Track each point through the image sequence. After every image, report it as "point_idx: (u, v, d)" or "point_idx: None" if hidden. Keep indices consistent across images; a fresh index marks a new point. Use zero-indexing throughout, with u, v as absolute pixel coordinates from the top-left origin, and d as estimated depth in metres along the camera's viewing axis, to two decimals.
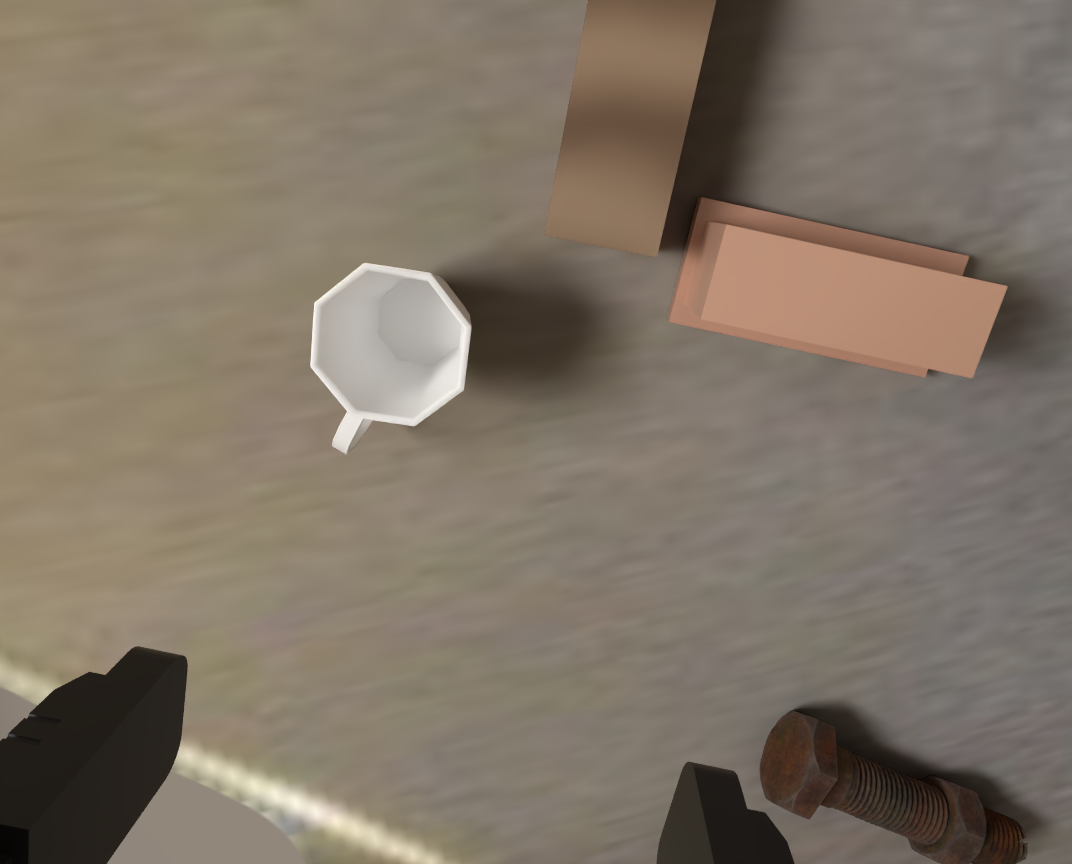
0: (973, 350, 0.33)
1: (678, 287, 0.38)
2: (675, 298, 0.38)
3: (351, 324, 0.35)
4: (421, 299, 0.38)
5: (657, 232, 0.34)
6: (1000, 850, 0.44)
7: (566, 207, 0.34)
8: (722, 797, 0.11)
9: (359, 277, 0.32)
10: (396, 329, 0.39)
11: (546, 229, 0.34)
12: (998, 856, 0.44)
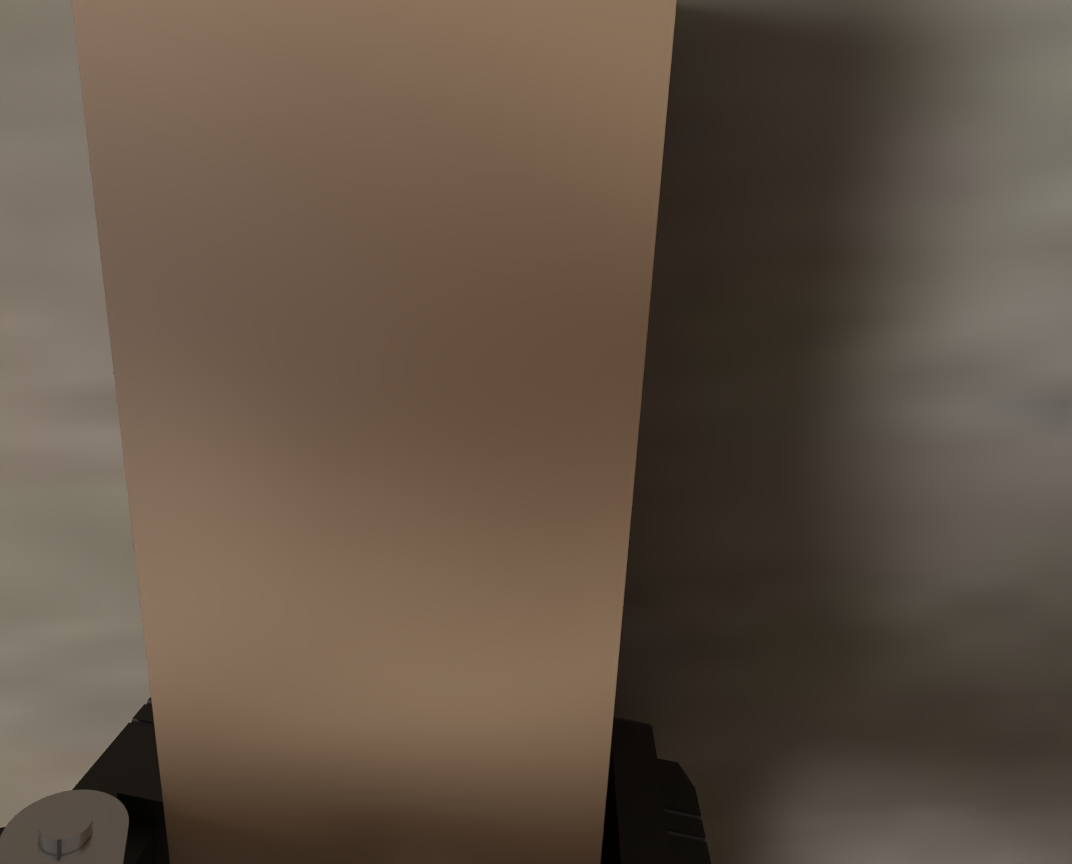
0: None
1: None
2: None
3: None
4: None
5: None
6: None
7: None
8: (634, 746, 0.12)
9: None
10: None
11: None
12: None
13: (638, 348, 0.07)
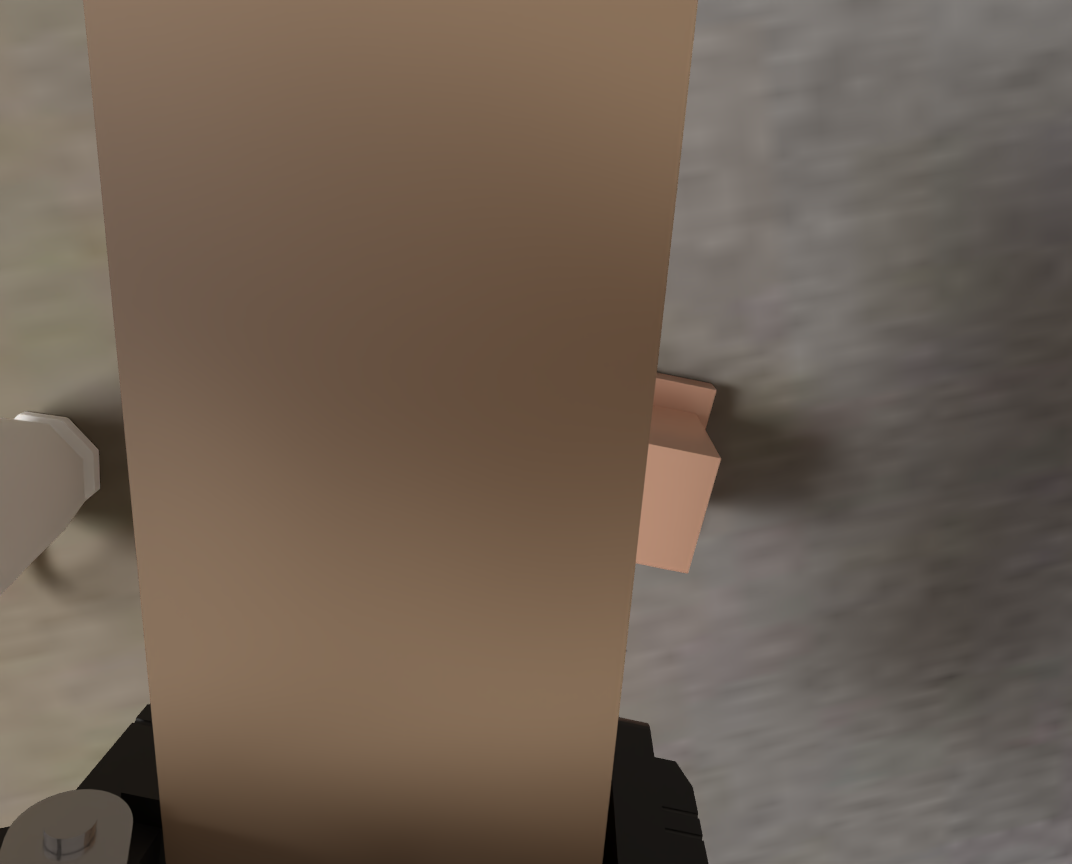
0: (684, 539, 0.25)
1: None
2: None
3: None
4: None
5: None
6: None
7: None
8: (631, 745, 0.12)
9: None
10: None
11: None
12: None
13: (650, 357, 0.07)
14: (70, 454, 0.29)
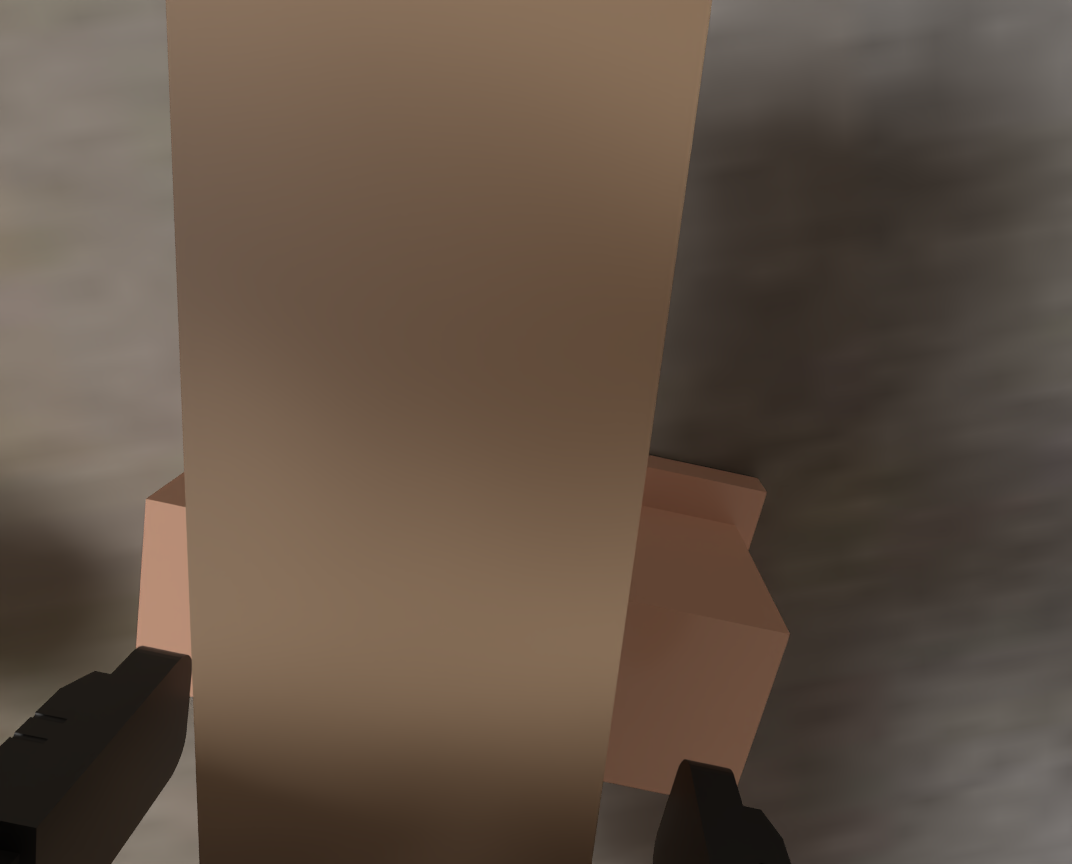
0: (726, 756, 0.15)
1: None
2: None
3: None
4: None
5: None
6: None
7: None
8: (718, 794, 0.11)
9: None
10: None
11: None
12: None
13: (658, 338, 0.08)
14: None
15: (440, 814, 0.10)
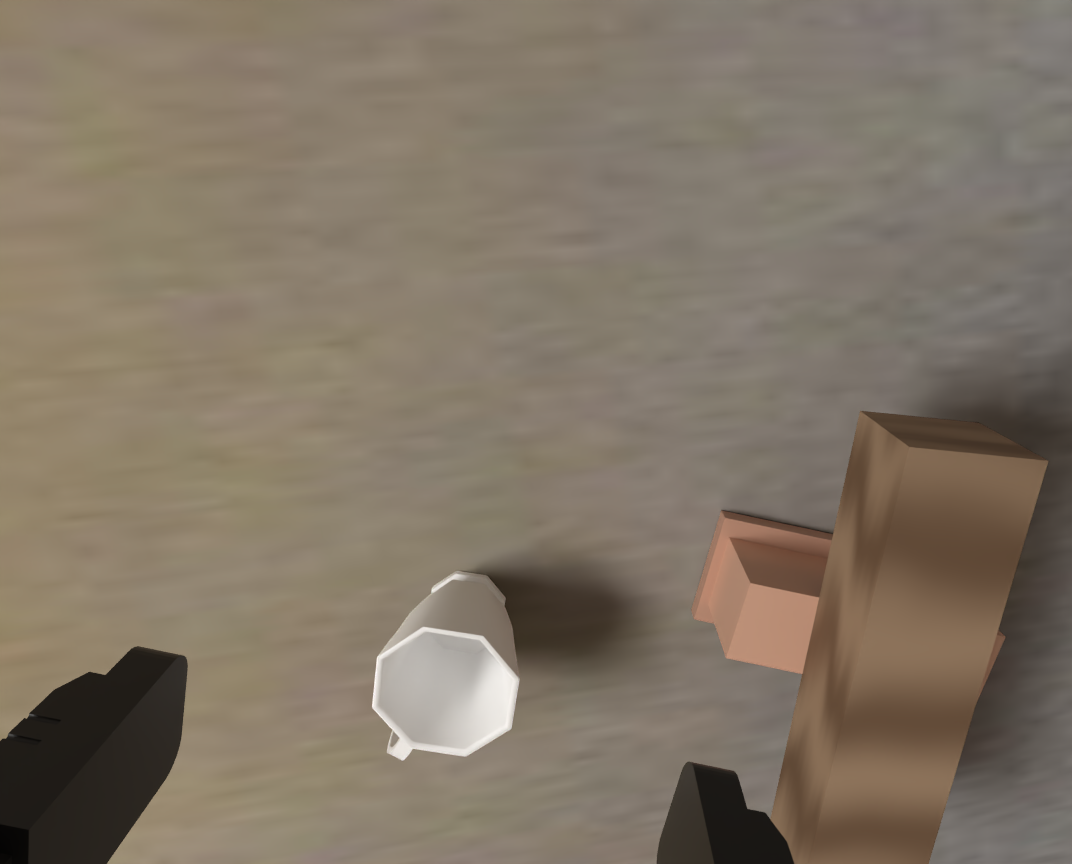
0: None
1: (702, 590, 0.41)
2: (700, 599, 0.41)
3: (405, 645, 0.39)
4: None
5: None
6: None
7: None
8: (722, 797, 0.11)
9: (418, 636, 0.35)
10: None
11: None
12: None
13: (1017, 558, 0.29)
14: (502, 606, 0.41)
15: (928, 693, 0.31)
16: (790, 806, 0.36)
